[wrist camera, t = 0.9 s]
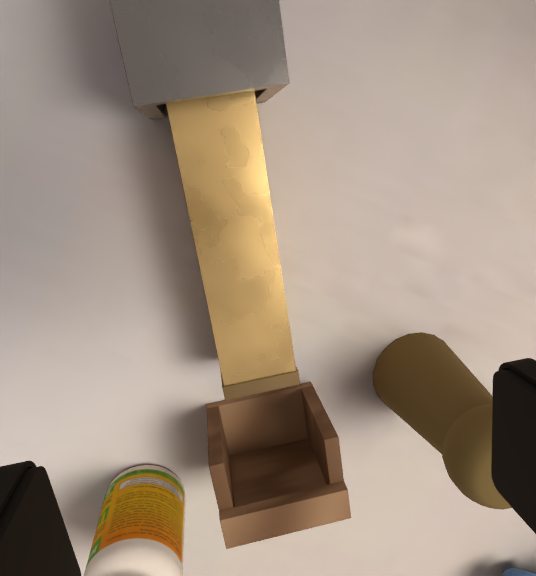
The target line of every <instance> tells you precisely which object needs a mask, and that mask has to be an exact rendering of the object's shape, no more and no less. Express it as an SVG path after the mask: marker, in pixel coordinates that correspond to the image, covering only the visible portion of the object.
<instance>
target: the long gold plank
mask: <svg viewBox="0 0 536 576" xmlns="http://www.w3.org/2000/svg"><path fill="white" fill-rule="evenodd" d="M166 106H167V110H168V115H169V120H170V125H171V130H172V135H173V140H174V144H175V149H176V154H177V159H178V164H179V169H180V174H181V178H182V183H183V188H184V193H185V198H186V203H187V208H188V213H189V217H190V222H191V227H192V232H193V237H194V242H195V247H196V251H197V256H198V261H199V266H200V271H201V276H202V281H203V285H204V290H205V295H206V300H207V305H208V310H209V315H210V319H211V324H212V329H213V334H214V339H215V344H216V349H217V354H218V358H219V363H220V369H221V378H222V388H223V392H224V397H225V400H229V399H234V398H239V397H243V396H248V395H253V394H257V393H262V392H266V391H271V390H276V389H280V388H285V387H290V386H294V385H299V384H300V380H299V373H298V370H297V368H296V365H295V360H294V353H293V347H292V340H291V333H290V326H289V320H288V313H287V306H286V299H285V293H284V286H283V279H282V273H281V266H280V259H279V252H278V246H277V239H276V232H275V225H274V219H273V212H272V205H271V198H270V192H269V185H268V178H267V172H266V165H265V158H264V151H263V145H262V138H261V131H260V124H259V118H258V111H257V104H256V97H255V91H248V92H242V93H235V94H228V95H221V96H214V97H208V98H201V99H194V100H187V101H181V102H174V103H167V104H166Z"/></svg>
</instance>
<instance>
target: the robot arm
mask: <svg viewBox="0 0 536 576" xmlns="http://www.w3.org/2000/svg"><path fill="white" fill-rule="evenodd" d="M491 476H492V480H493V483H494V486H495V488H496V489H497V491H498V492H499V493H500V495H501V496H502V497H503V498H504V499H505V500H506V501H507V502H508V503H509V505H510V506H511V507H512V508H513V509H514V510H515V511H516V512H517V514H518V515H519V516H520V517H521V518H522V519H523V520H524V521H525V522H526V524H527V525H528V526H529V527H530V528H531V529H532V530H533V531H534V532H535V534H536V361H535V360H533V359H531V358H526V359H521V360H516V361H511V362H506V363H503V364H502V365H500V367H499V371H497V372H495V374H494V376H493V406H492V460H491ZM0 576H81V572H80V568H79V565H78V562H77V559H76V556H75V553H74V551H73V548H72V545H71V542H70V539H69V536H68V533H67V530H66V527H65V524H64V521H63V518H62V515H61V512H60V510H59V507H58V504H57V501H56V498H55V495H54V492H53V489H52V486H51V483H50V480H49V477H48V474H47V472H46V470H45V468H44V467H42V466H39V467H36V465H35V464H34V463H33V462H32V461H25V462H21V463H16V464H11V465H6V466H1V467H0Z"/></svg>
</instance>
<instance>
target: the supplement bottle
mask: <svg viewBox="0 0 536 576" xmlns="http://www.w3.org/2000/svg"><path fill="white" fill-rule="evenodd" d="M184 521H185V491H184V487H183V485H182V483H181V481H180V480H179V478H178V477H177V476H176V475H175V474H174V473H172V472H171V471H169V470H167V469H165V468H163V467H160V466H155V465H141V466H136V467H132V468H130V469H127V470H125V471H124V472H122V473H120V474H119V475H118V476H117V477H116V478H115V479H114V480H113V481H112V482H111V484H110V485H109V487H108V489H107V492H106V495H105V498H104V502H103V506H102V510H101V514H100V517H99V521H98V525H97V529H96V533H95V536H94V540H93V544H92V547H91V551H90V555H89V559H88V562H87V566H86V570H85V574H84V576H182V574H183V547H184Z"/></svg>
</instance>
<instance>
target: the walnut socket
mask: <svg viewBox="0 0 536 576" xmlns="http://www.w3.org/2000/svg"><path fill="white" fill-rule="evenodd" d="M207 430H208V456H209V469H210V473H211V478H212V482H213V486H214V491H215V495H216V499H217V504H218V508H219V516H220V524H221V528H222V532H223V537H224V541H225V545H226V549H228V548H232V547H236V546H240V545H244V544H248V543H252V542H256V541H260V540H264V539H269V538H273V537H277V536H281V535H285V534H289V533H293V532H297V531H301V530H305V529H309V528H313V527H317V526H321V525H325V524H329V523H333V522H337V521H341V520H345V519H349V518H351V513H350V505H349V497H348V489H347V487H346V485H345V483H344V479H343V471H342V462H341V454H340V446H339V438H338V435H337V433H336V431H335V429H334V427H333V425H332V423H331V421H330V419H329V417H328V415H327V413H326V411H325V409H324V407H323V405H322V403H321V401H320V399H319V397H318V395H317V393H316V391H315V389H314V387H313V385H312V383H311V382H309V383H304V384H299V385H295V386H290V387H285V388H281V389H276V390H271V391H267V392H262V393H258V394H253V395H248V396H244V397H239V398H234V399H230V400H225V401H220V402H216V403H211V404H207Z"/></svg>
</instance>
